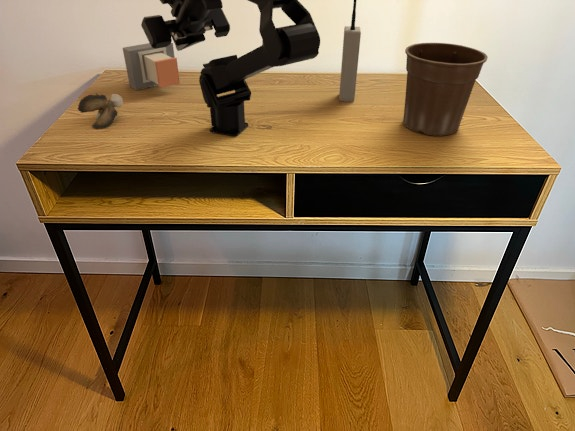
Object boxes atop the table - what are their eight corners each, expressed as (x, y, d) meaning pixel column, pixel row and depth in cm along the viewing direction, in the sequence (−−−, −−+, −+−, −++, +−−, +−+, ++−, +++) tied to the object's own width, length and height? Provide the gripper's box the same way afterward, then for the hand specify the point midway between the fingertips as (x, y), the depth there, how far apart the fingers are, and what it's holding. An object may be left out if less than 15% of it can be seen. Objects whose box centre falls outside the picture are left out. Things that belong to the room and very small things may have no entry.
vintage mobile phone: (353, 95, 119) (363, -12, 104) (354, 102, 114) (364, -9, 100) (339, 94, 119) (347, -13, 104) (339, 101, 115) (347, -9, 100)
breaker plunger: (179, 83, 118) (176, 58, 114) (160, 88, 115) (156, 62, 111) (162, 73, 124) (158, 49, 120) (143, 77, 121) (139, 52, 118)
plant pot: (439, 107, 112) (453, 39, 103) (484, 134, 100) (505, 59, 90) (381, 116, 107) (390, 45, 98) (421, 145, 95) (436, 67, 86)
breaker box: (178, 81, 126) (173, 43, 120) (136, 90, 119) (129, 51, 114) (170, 77, 128) (165, 40, 123) (129, 86, 122) (122, 47, 116)
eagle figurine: (89, 107, 107) (70, 116, 99) (101, 81, 104) (83, 88, 96) (118, 126, 108) (102, 136, 100) (131, 101, 106) (116, 109, 98)
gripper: (219, -34, 98) (198, 13, 111) (136, -27, 88) (124, 23, 102) (242, 12, 97) (218, 53, 111) (161, 24, 88) (145, 68, 101)
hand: (178, 48), depth 106 cm, fingers closed
